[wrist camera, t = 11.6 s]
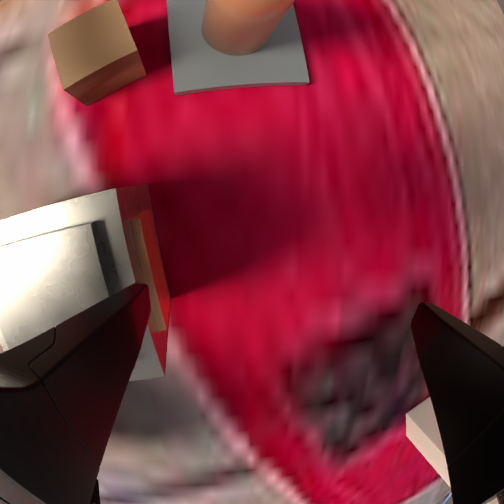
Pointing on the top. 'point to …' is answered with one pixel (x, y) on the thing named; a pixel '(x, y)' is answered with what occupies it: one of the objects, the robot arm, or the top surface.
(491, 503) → the milk
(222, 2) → the canister
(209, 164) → the top surface
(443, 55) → the top surface
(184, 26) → the pad
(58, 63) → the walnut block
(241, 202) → the top surface
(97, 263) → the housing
